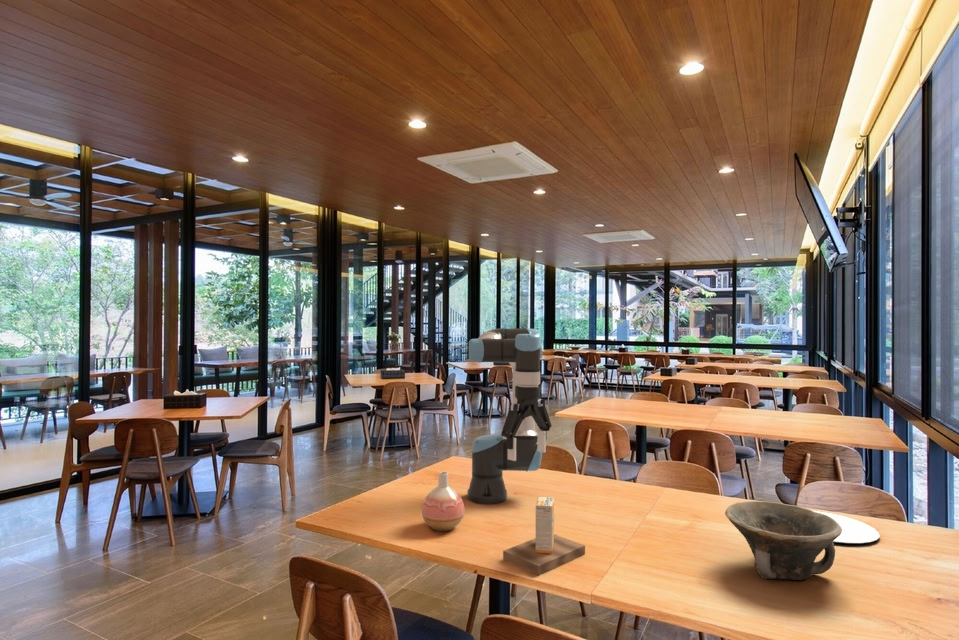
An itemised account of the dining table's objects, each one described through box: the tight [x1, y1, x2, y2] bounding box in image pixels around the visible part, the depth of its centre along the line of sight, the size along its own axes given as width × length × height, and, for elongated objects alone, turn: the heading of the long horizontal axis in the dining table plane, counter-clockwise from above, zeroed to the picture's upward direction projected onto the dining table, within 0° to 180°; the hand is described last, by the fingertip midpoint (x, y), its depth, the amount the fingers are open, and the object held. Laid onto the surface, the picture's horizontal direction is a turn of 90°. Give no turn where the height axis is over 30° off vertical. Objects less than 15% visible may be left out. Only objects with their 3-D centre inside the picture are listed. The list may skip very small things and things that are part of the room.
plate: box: [813, 510, 881, 545], centre depth 175 cm, size 29×29×2 cm
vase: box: [421, 471, 465, 532], centre depth 174 cm, size 14×14×18 cm
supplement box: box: [535, 496, 555, 554], centre depth 152 cm, size 8×5×13 cm, turn 169°
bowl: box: [724, 500, 842, 581], centre depth 143 cm, size 27×26×15 cm
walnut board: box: [502, 533, 586, 577], centre depth 152 cm, size 20×13×2 cm, turn 133°
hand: (527, 455), depth 163 cm, fingers open, 13 cm apart
